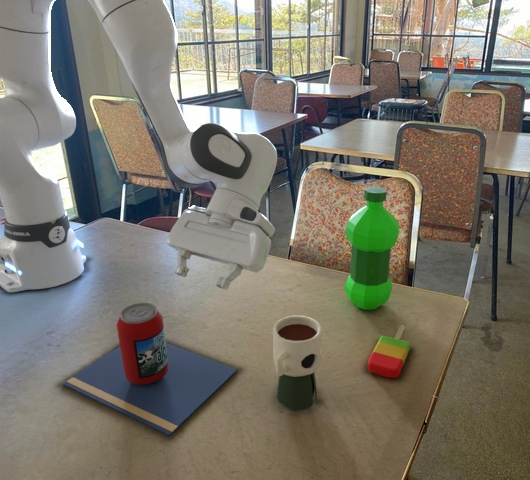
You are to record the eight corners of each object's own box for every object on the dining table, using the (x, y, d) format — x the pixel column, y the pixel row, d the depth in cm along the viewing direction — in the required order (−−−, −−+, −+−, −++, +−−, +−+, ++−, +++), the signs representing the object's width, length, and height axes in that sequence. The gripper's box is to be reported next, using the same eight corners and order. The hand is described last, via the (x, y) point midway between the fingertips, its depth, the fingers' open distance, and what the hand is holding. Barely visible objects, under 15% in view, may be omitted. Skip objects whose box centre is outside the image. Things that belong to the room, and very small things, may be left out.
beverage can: (156, 391, 75) (147, 326, 70) (117, 384, 76) (105, 320, 71) (176, 364, 81) (169, 303, 76) (140, 358, 82) (130, 298, 77)
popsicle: (365, 372, 81) (366, 363, 80) (388, 326, 93) (389, 318, 93) (397, 381, 79) (398, 372, 78) (416, 333, 92) (417, 325, 91)
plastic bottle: (338, 312, 98) (343, 195, 88) (349, 288, 107) (355, 179, 97) (387, 320, 95) (398, 201, 85) (394, 295, 105) (405, 184, 95)
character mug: (299, 430, 69) (300, 356, 63) (257, 412, 72) (255, 340, 66) (332, 385, 78) (335, 316, 72) (294, 371, 80) (294, 304, 75)
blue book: (63, 384, 76) (62, 383, 76) (139, 333, 89) (139, 332, 89) (169, 435, 67) (169, 434, 67) (237, 370, 80) (237, 369, 80)
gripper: (178, 196, 92) (146, 262, 87) (269, 216, 83) (238, 290, 79) (196, 211, 97) (166, 274, 93) (282, 231, 89) (254, 301, 85)
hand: (200, 281), depth 86 cm, fingers open, 8 cm apart
